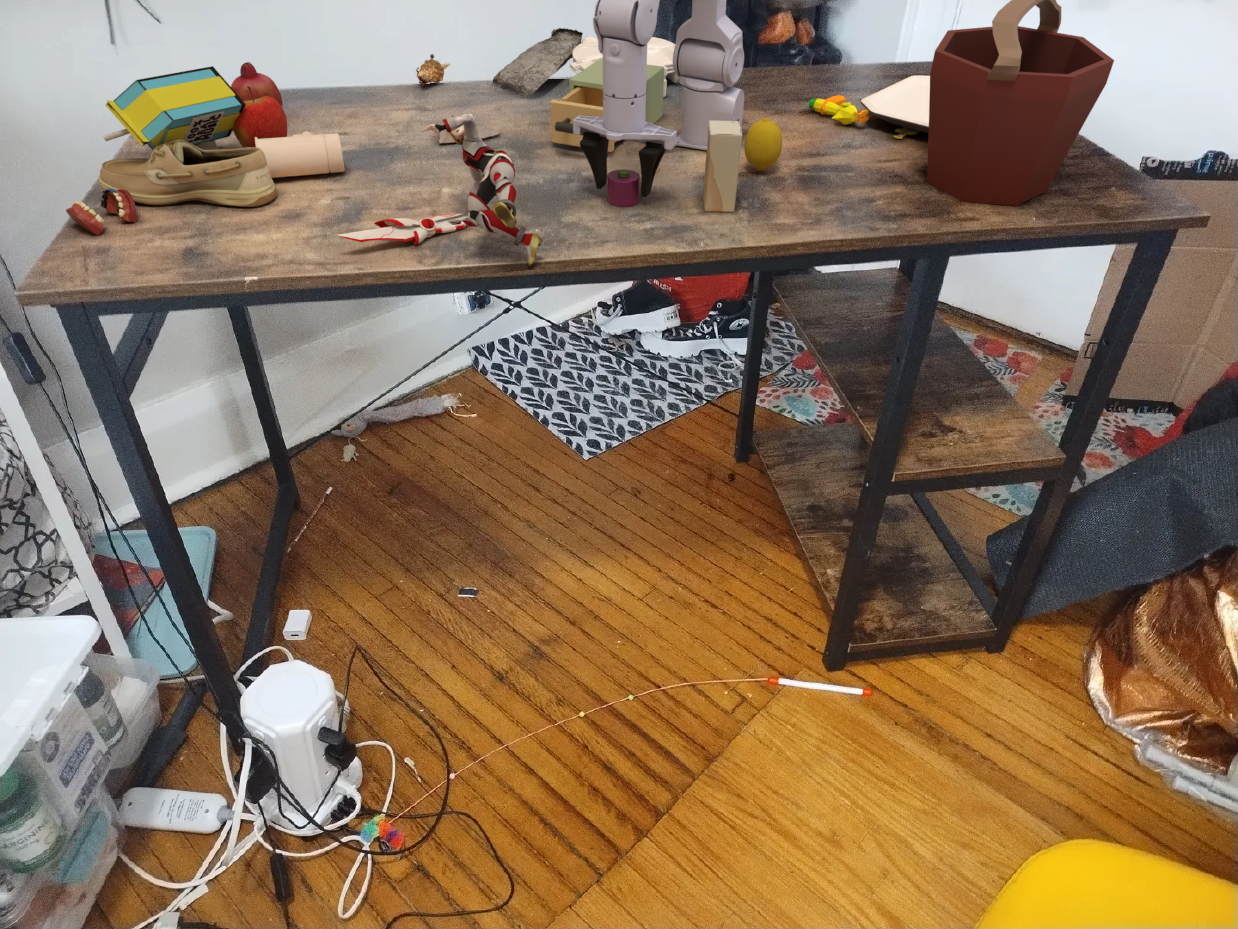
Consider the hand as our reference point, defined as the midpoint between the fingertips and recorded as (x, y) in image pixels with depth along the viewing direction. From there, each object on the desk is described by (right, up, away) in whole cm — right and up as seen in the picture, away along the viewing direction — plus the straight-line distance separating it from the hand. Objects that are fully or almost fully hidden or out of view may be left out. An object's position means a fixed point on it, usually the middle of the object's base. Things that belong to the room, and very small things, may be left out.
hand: (623, 190), depth 126 cm
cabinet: (-1, +19, +24) cm, 31 cm away
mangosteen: (0, -1, +1) cm, 1 cm away
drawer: (-5, +13, +16) cm, 22 cm away
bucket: (+53, +3, +7) cm, 54 cm away
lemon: (+21, +6, +9) cm, 23 cm away
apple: (-56, +9, +13) cm, 58 cm away
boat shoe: (-62, 0, +1) cm, 62 cm away
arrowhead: (-30, +14, +17) cm, 38 cm away
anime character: (-16, -18, -21) cm, 32 cm away
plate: (+58, +20, +26) cm, 66 cm away
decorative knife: (+48, +18, +24) cm, 56 cm away
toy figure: (+40, +19, +21) cm, 49 cm away
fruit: (-60, +17, +22) cm, 66 cm away
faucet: (-54, +7, +6) cm, 55 cm away
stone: (-10, +35, +42) cm, 55 cm away
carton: (-60, +15, +7) cm, 62 cm away
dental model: (-73, -7, -10) cm, 74 cm away
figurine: (-37, +36, +35) cm, 62 cm away
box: (+14, -2, 0) cm, 14 cm away
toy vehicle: (+1, +39, +38) cm, 55 cm away
